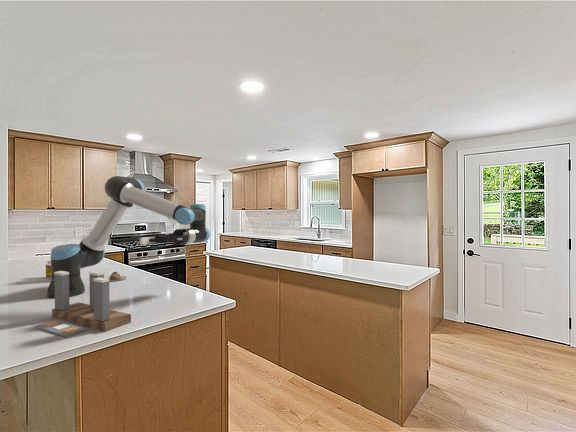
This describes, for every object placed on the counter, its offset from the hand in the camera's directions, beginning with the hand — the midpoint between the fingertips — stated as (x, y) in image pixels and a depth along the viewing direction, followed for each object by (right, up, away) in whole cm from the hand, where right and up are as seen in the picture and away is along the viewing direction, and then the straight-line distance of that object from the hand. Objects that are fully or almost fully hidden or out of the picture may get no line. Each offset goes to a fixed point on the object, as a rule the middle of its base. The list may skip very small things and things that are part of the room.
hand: (141, 241), depth 134 cm
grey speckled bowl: (-40, -27, +55) cm, 73 cm away
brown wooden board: (-14, -29, -11) cm, 34 cm away
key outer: (-5, -26, -20) cm, 33 cm away
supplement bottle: (-79, -26, +58) cm, 102 cm away
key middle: (-13, -25, -9) cm, 30 cm away
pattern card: (-19, -29, -21) cm, 40 cm away
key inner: (-26, -25, -9) cm, 38 cm away
